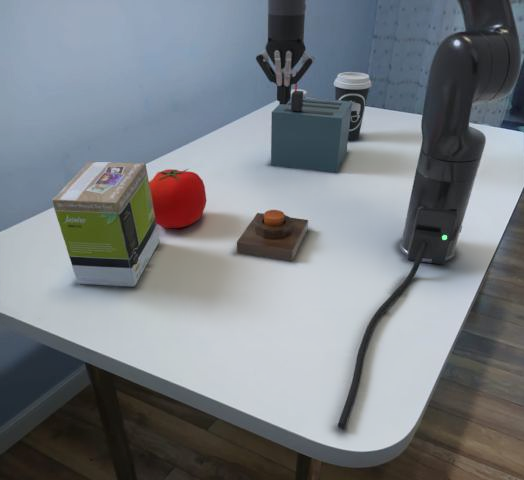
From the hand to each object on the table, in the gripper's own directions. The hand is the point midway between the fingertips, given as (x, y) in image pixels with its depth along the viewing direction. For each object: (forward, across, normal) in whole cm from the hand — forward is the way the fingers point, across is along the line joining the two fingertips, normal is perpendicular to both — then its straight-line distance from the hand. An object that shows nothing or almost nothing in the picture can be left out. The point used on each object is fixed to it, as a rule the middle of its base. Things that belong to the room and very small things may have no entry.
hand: (283, 103), depth 111 cm
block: (+13, +9, -38) cm, 41 cm away
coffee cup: (+14, +12, +24) cm, 30 cm away
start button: (+10, +9, -38) cm, 40 cm away
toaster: (+13, +6, +5) cm, 15 cm away
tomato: (+14, -11, -36) cm, 40 cm away
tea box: (+14, -14, -53) cm, 57 cm away
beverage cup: (+14, -4, +29) cm, 32 cm away
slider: (+1, +3, 0) cm, 3 cm away
